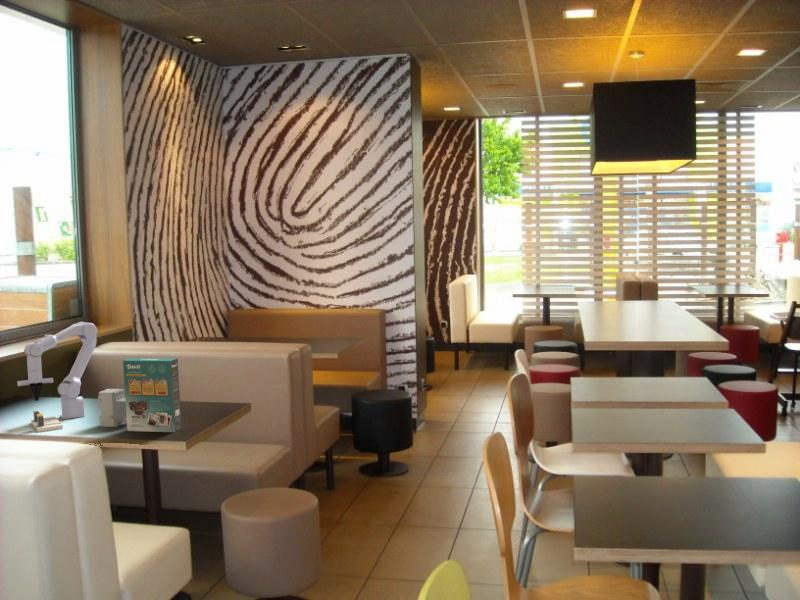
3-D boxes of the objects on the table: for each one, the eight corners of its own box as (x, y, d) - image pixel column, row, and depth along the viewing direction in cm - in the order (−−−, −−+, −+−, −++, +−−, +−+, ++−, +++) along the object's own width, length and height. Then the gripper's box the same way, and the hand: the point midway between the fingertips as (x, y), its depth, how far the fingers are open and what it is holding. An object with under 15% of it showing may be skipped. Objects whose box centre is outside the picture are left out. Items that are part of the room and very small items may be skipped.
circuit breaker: (130, 427, 366) (128, 392, 364) (100, 426, 369) (97, 392, 367) (139, 422, 373) (136, 389, 372) (109, 422, 376) (107, 388, 374)
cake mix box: (181, 428, 360) (177, 358, 357) (174, 432, 354) (170, 360, 351) (134, 427, 365) (130, 358, 362) (127, 430, 359) (122, 360, 356)
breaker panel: (55, 419, 384) (54, 407, 383) (62, 428, 367) (61, 416, 366) (31, 423, 379) (30, 411, 378) (37, 432, 362) (36, 419, 361)
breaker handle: (42, 423, 369) (41, 413, 369) (43, 425, 366) (43, 415, 365) (37, 424, 368) (36, 414, 368) (38, 426, 365) (38, 415, 364)
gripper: (18, 372, 369) (20, 403, 370) (53, 369, 376) (55, 399, 377) (16, 370, 375) (17, 401, 376) (51, 367, 382) (52, 397, 383)
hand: (36, 400), depth 377 cm, fingers closed
